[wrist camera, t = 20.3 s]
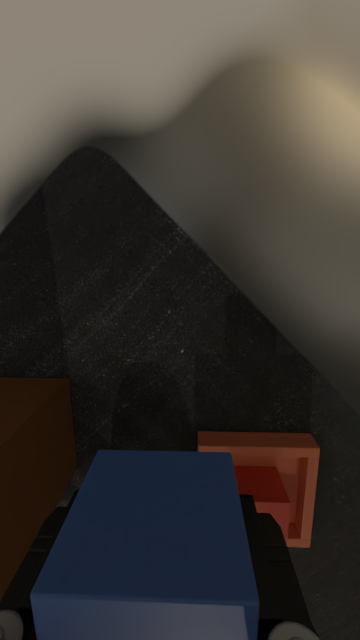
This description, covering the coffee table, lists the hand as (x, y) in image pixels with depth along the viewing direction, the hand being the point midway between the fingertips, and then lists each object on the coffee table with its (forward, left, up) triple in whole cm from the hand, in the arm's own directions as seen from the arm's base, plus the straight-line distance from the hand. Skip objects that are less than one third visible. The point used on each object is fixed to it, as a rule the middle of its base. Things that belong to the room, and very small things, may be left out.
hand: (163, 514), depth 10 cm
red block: (+14, +7, -18) cm, 24 cm away
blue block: (0, 0, 0) cm, 0 cm away
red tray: (+14, +7, -19) cm, 24 cm away
